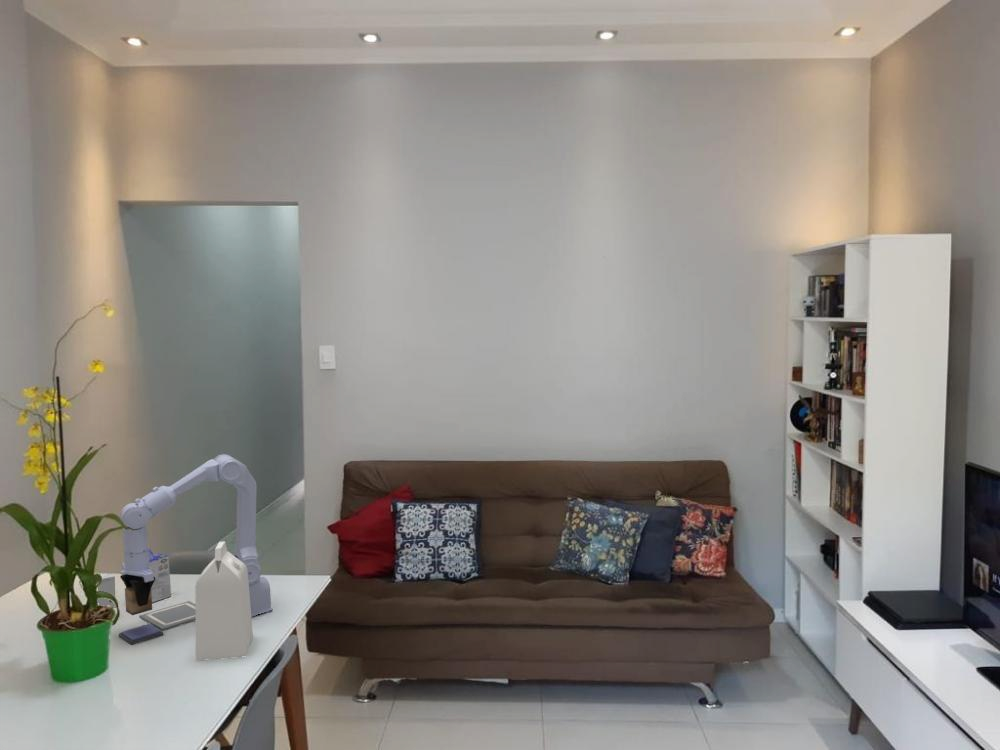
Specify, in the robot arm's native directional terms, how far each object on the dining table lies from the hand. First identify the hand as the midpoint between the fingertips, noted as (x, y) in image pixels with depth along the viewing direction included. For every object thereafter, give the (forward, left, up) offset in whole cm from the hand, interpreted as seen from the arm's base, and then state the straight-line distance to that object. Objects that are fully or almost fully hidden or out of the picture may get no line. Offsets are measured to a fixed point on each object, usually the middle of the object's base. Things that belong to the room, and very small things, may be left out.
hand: (139, 602), depth 202 cm
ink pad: (0, 0, -9) cm, 9 cm away
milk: (-11, +24, -9) cm, 27 cm away
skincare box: (+2, -19, -9) cm, 21 cm away
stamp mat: (-12, -6, -9) cm, 16 cm away
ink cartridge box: (-13, -24, -9) cm, 29 cm away
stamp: (0, 0, -2) cm, 2 cm away
